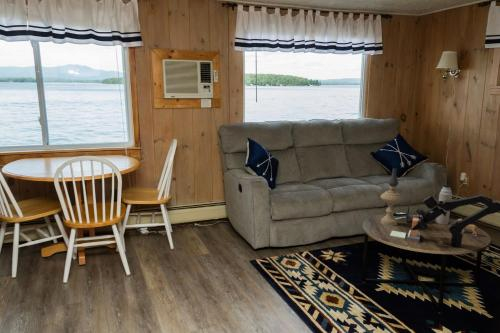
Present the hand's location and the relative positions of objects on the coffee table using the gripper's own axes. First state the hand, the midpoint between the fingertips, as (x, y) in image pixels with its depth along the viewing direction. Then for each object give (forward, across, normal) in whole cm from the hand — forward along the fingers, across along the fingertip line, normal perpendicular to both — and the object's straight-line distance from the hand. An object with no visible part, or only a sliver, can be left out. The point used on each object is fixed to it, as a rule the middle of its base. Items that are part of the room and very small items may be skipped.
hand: (412, 227), depth 245 cm
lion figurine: (-18, -28, +28) cm, 44 cm away
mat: (+11, 0, -1) cm, 11 cm away
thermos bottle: (-8, -43, +18) cm, 47 cm away
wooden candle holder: (+17, -22, -7) cm, 28 cm away
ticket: (+4, 0, +6) cm, 7 cm away
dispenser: (+4, 0, +6) cm, 7 cm away
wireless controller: (+4, -38, +6) cm, 39 cm away
